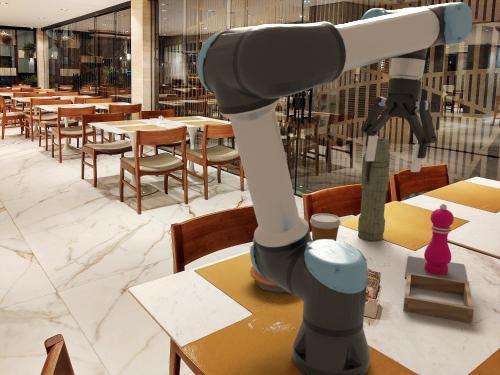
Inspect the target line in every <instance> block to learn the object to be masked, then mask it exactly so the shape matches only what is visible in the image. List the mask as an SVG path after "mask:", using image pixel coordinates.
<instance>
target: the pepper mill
mask: <svg viewBox="0 0 500 375" xmlns="http://www.w3.org/2000/svg"><path fill="white" fill-rule="evenodd" d="M447 206H448V205H447V204H445V203H441V204H440V205H439V208H436V209H435V210H433V211H432V213H431V215H430V221H431V223H432V224H431V227H430V229H431V231H432V236H431V239H430V241H429V243H428V245H427V246H426V248H425V250H424V254H423V258H425V259H426V261H427V262H425V270H426V271H427V272H429V273H432V274H436V275H444V274H447V272H448V265H447V264H448V263H449V262H452V252H451V249H450V247H449V243H448V242H449V241H448V236H449V233H451V225H452V224H453V223H454V220H455V217H454V214H453V212H452V211H450V210H449V209H447V208H448V207H447Z"/></svg>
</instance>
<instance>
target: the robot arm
mask: <svg viewBox="0 0 500 375" xmlns="http://www.w3.org/2000/svg"><path fill="white" fill-rule="evenodd" d="M472 28H473V13H472V9H471V7H470V6H469V5H468V4H467V3H466V2H461V1H460V2H448V3H440V4H433V5H428V6H427V5H426V6H418V7H405V8H402V9H394V10H393V9H392V10H387V9H385V8H375V7H373V8H371V9H369V10H367V11H366V12H365V13H364V14H363V15H362V17H361V19H360V20H356V21H352V22H348V23H344V24H343V23H342V24H337V25H335V24H333V23H331V22H329V21H319V22H318V21H317V22H313V23H297V24H295V23H286V24H285V23H267V24H260V25H252V26H243V27H242V26H241V27H232V28H226V29H224V30H221V31H218V32H216V33H214V34H212V35H211V36H209V37H208V38H207V39H206V40H205V41H204V43H203V44H202V46H201V48H200V51H199V53H198V56H197V60H196V71H197V76H198V78H199V82H200V84H201V85H202V86H203V87H204V89H205V90H206V91H208V92H209V94H212V95H214V97H215V101H216V104H217V107H218V111H219V114H220V115H221V116H223V117H225V118H226V119H228V120H229V121H230V124H231V128H232V132H233V135H234V140H235V143H236V146H237V150H238V153H239V158H240V162H241V165H242V169H243V174H244V176H245V181H246V183H247V188H248V192H249V194H250V198H251V202H252V203H251V204H252V206H253V210H254V214H255V218H256V222H257V227H256V229H255V230H254V233H253V239H252V243H253V244H252V246H250V250H249V257H250V261H251V264H252V266H254V268H255V270H256V271H257V272H258V273H259V274H260V275H261V276H263V277H264V278H265V279H266V280H268V281H269V282H272V283H274V284H276V285H277V286H279V287H281V288H283V289H284V290H286V291H288V292H287V293H290V294H291V295H293V296H294V297H297V298H298V299H299V300H301V301H302V303H303V304H302V305H303V307H302V321H301V324H300V327H299V329H298V331H297V332H296V336H295V339H294V341H293V345H292V361H293V362H294V365H295V367H296V368H297V369H298V370H299V371H300V372H301V373H302V374H304V375H305V374H306V375H366V374H367V373H368V371H369V370H370V369H369V368H370V362H371V351H370V348H369V345H368V341H367V337H366V334H365V330H364V320H365V308H366V297H367V287H368V282H369V274H368V261H367V258H366V256H365V255H364V253H363V252H362V251H361V250H360V249H359V248H357V247H356V246H354V245H352V244H349V243H348V242H345V241H341V240H338V241H337V240H336V241H334V240H332V239H320V240H316V241H313V240H312V234H311V231H310V227H309V223H308V221H307V220H306V219H305V218H303V217H301V216H300V215H299V211H298V207H297V206H298V205H297V201H296V197H295V193H294V189H293V183H292V179H291V175H290V171H289V166H288V165H289V164H288V162H287V157H286V156H287V155H286V152H285V147H284V144H283V143H284V142H283V139H282V135H281V131H280V126H279V122H278V117H277V112H276V107H277V105H278V104H279V103H280V101H281V100H282V98H285V97H288V96H289V97H290V96H291V95H296V94H299V93H302V92H304V91H308V90H310V89H314V88H316V87H319V86H323V85H326V84H329V83H332V82H335V81H337V80H338V79H339V78H340V77H341V76H342V74H343V73H344V72H348V71H352V70H355V69H358V68H361V67H365V66H368V65H372V64H375V63H376V64H377V63H379V62H382V61H386V60H389V59H391V64H390V68H389V76H390V77H391V78H389V79H388V83H387V89H386V93H387V97H385V96H376V98H375V101H374V105H373V107H372V109H371V110H370V113H369V114H368V116H367V117H366V119H365V121H364V123H363V125H362V126H361V128H360V130H361V132H362V133H365V134H366V138H365V148H366V147H367V152H366V151H365V153H366V159H365V161H374V159H375V153H376V146H377V140H378V137H379V136H378V133H379V131H380V130H381V129H382V128H383V127H384V126H385V125H386V124H387V123H388V122H389V121H390V120H391V119H392V118H399V119H405V120H406V121H407V123H408V124H409V127H410V128H411V131H412V132H413V134H414V137H415V138H416V140H417V143H415V144H414V149H413V154H412V160H411V165H410V172H412V173H419V172H421V167H422V164H423V163H422V162H423V159H425V158H426V156H427V152H428V151H427V150H428V147H429V145H430V144H435V143H437V141H438V139H437V134H436V131H435V128H434V123H433V119H432V116H431V110H430V109H431V102H430V101H429V100H428V101H427V100H420V101H419V96H420V94H421V89H422V88H421V87H422V83H423V82H422V80H420V79H422V78H423V76H424V71H425V65H426V61H427V60H426V58H427V52H428V48H433V47H435V46H441V45H447V46H450V45H453V44H454V45H455V44H461V43H463V42H464V41H465V40H467V39H468V38H469V35H470V34H471V30H472ZM385 106H386V108H385ZM384 108H385V109H384ZM416 110H418V113H419V116H418V114H417V112H416ZM419 118H420V121H419Z"/></svg>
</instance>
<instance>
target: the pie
mask: <svg viewBox="0 0 500 375" xmlns="http://www.w3.org/2000/svg"><path fill="white" fill-rule="evenodd" d="M249 274H250V276H251V277H252V278H253V279H254V281H255V283H256V284H257V285H258V287H260V289H262V290H264V291H267V292H270V293H276V294H280V293H281V294H283V293H289V292H288V291H286V290H284V289H283V288H281V287H279V286H277V285H276V284H274V283H272V282H269V281H268V280H266V279H265V278H264V277H263V276H261V275H260V274H259V273H258V272H257V271H256V270H255V268H254V266H253V265H252V266H251V267H250V270H249Z"/></svg>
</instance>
